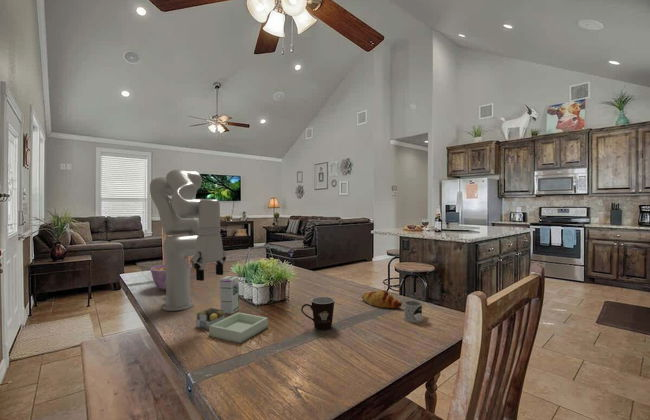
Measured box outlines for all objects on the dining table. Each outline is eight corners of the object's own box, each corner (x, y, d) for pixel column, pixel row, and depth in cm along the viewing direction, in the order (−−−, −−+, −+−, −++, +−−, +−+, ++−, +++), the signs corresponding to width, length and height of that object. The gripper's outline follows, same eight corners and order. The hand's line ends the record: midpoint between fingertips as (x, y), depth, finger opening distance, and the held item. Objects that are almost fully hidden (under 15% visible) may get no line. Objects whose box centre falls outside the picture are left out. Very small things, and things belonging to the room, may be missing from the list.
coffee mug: (337, 324, 121) (337, 298, 121) (330, 332, 113) (330, 304, 113) (309, 320, 125) (308, 295, 124) (300, 328, 117) (300, 301, 116)
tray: (209, 335, 111) (209, 325, 111) (238, 321, 124) (238, 312, 124) (241, 343, 105) (241, 332, 105) (268, 327, 118) (268, 317, 118)
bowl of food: (159, 284, 181) (159, 264, 181) (196, 283, 183) (196, 263, 183) (143, 294, 161) (143, 271, 161) (184, 293, 163) (184, 270, 163)
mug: (416, 324, 120) (416, 307, 120) (401, 320, 125) (401, 303, 125) (428, 317, 128) (428, 301, 128) (413, 313, 132) (413, 297, 132)
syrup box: (233, 314, 132) (232, 279, 132) (220, 313, 134) (219, 278, 133) (239, 309, 138) (239, 276, 138) (226, 308, 139) (226, 275, 139)
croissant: (358, 308, 149) (353, 295, 147) (369, 294, 156) (364, 281, 153) (398, 318, 135) (393, 303, 132) (408, 302, 142) (404, 288, 139)
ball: (207, 321, 121) (208, 313, 121) (213, 319, 124) (213, 312, 124) (213, 322, 120) (214, 314, 120) (219, 321, 123) (219, 313, 123)
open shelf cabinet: (195, 326, 119) (195, 313, 118) (210, 320, 125) (210, 307, 125) (210, 330, 116) (209, 316, 116) (224, 323, 122) (224, 310, 122)
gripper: (218, 230, 129) (219, 272, 129) (183, 233, 113) (184, 281, 114) (233, 230, 126) (233, 273, 126) (198, 234, 110) (199, 283, 111)
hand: (210, 277), depth 120 cm, fingers open, 9 cm apart
